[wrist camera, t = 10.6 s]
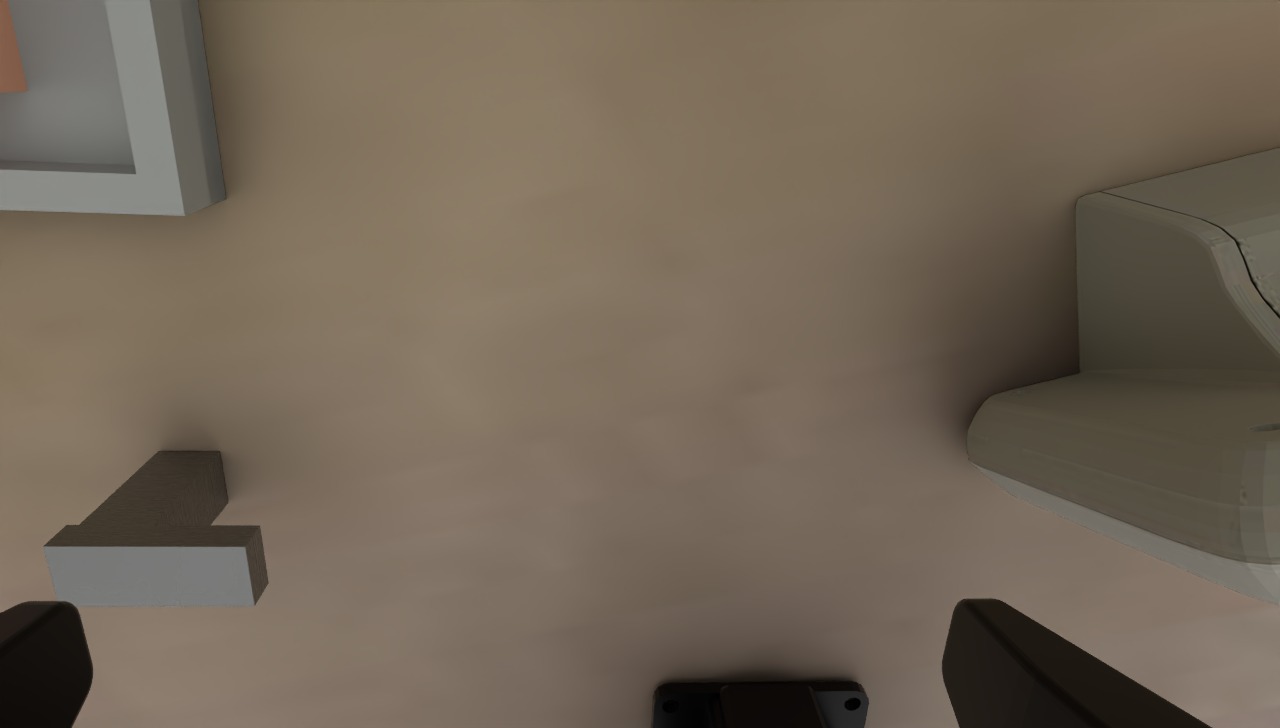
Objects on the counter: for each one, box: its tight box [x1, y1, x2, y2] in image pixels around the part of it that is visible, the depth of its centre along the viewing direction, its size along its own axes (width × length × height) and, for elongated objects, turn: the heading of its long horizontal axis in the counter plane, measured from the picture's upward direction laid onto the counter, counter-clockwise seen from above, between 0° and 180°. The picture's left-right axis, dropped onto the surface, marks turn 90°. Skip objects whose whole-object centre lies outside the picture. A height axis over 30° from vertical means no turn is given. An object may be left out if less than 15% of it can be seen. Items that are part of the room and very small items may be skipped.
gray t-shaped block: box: [43, 451, 268, 607], centre depth 19 cm, size 2×4×4 cm, turn 87°
